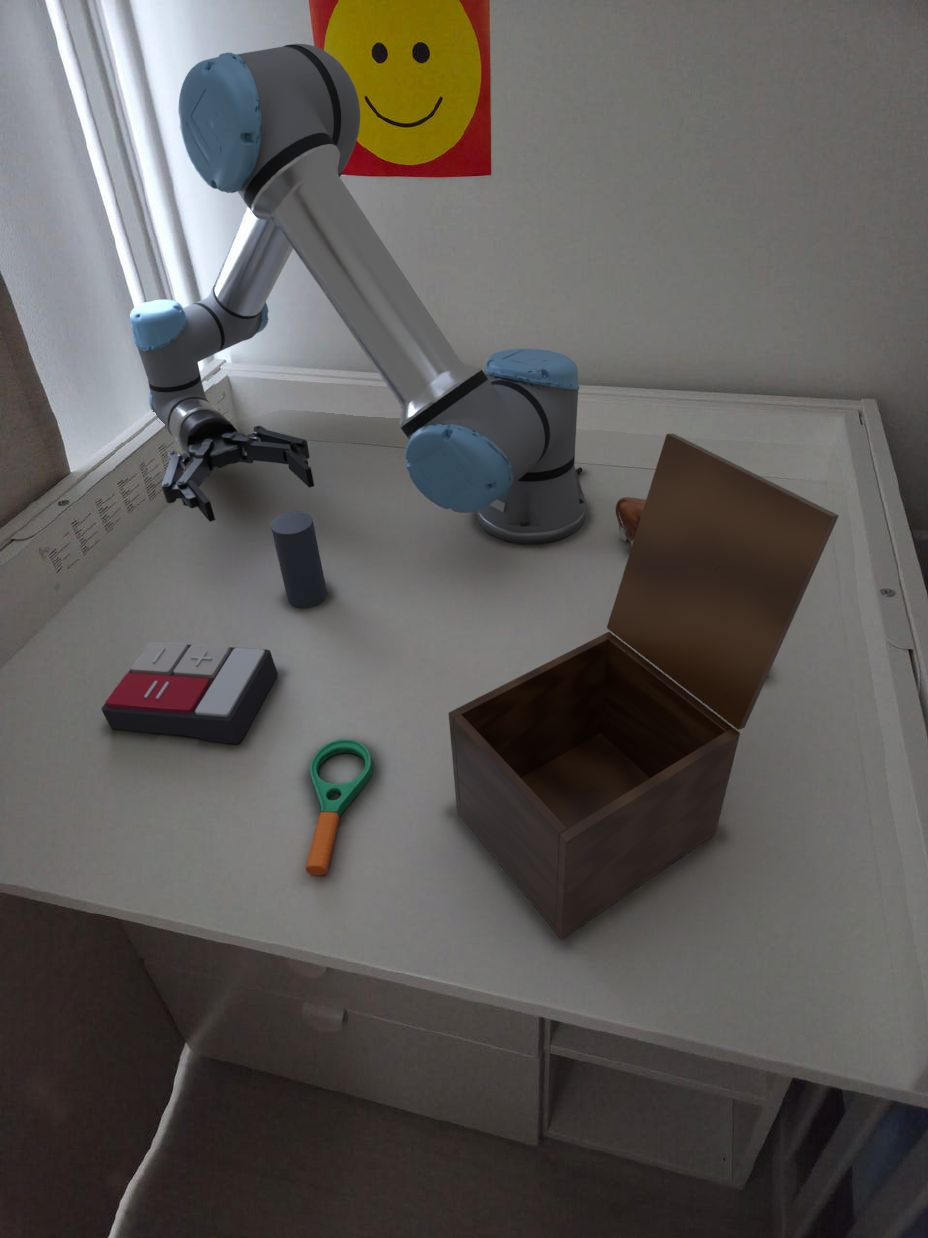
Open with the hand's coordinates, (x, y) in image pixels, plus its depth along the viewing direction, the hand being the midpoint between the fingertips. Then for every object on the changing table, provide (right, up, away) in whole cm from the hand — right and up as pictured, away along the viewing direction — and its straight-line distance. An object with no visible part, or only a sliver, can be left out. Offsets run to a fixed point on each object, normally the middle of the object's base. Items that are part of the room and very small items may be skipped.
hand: (261, 494), depth 103 cm
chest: (+37, -35, -29) cm, 58 cm away
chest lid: (+45, -13, -39) cm, 60 cm away
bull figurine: (+52, -7, +4) cm, 52 cm away
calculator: (-4, -25, -14) cm, 29 cm away
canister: (+6, -13, 0) cm, 14 cm away
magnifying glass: (+13, -34, -26) cm, 45 cm away
